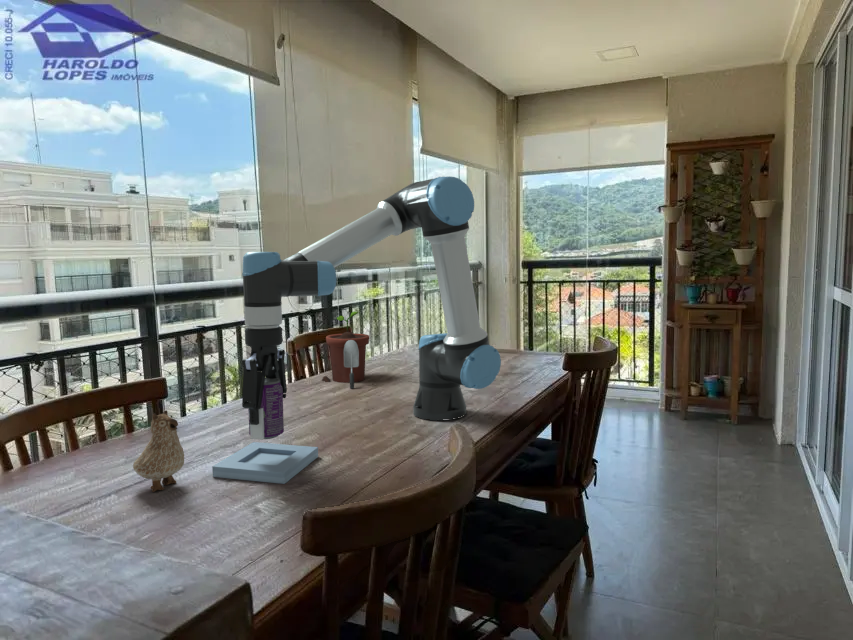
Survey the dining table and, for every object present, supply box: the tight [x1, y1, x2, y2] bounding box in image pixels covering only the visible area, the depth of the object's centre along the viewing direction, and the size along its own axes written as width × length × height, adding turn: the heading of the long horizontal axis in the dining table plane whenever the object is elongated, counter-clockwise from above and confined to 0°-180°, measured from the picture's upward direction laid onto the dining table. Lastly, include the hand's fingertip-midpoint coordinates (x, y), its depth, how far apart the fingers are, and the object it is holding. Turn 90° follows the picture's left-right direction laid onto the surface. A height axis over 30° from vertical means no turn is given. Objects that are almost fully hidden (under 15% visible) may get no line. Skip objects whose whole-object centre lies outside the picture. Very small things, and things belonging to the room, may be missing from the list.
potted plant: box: [321, 311, 370, 389], centre depth 207 cm, size 18×22×25 cm
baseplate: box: [211, 441, 319, 485], centre depth 123 cm, size 16×16×2 cm
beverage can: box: [247, 377, 285, 440], centre depth 122 cm, size 7×7×12 cm
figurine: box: [132, 410, 185, 493], centre depth 112 cm, size 9×10×15 cm
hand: (266, 433), depth 123 cm, fingers closed on beverage can, 7 cm apart
